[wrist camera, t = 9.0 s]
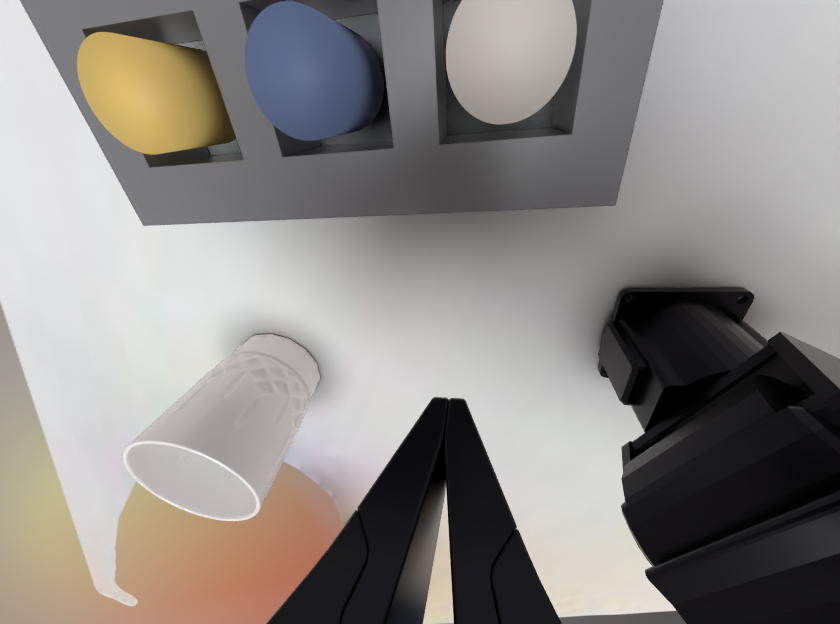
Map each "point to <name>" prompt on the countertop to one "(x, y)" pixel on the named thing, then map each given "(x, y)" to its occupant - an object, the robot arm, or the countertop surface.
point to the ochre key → (153, 93)
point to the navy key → (311, 73)
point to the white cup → (228, 431)
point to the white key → (509, 55)
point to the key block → (409, 113)
